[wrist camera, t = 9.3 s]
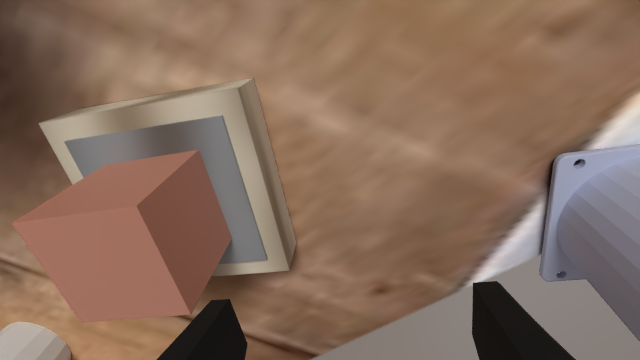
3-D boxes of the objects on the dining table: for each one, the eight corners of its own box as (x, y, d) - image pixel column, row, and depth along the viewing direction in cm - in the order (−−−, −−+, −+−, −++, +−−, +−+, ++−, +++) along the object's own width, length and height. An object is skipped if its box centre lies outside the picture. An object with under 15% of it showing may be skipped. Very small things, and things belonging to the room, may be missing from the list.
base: (253, 77, 17) (236, 89, 14) (296, 242, 21) (288, 273, 18) (77, 109, 18) (34, 124, 16) (150, 256, 22) (126, 285, 20)
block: (198, 149, 16) (136, 205, 11) (232, 237, 18) (190, 314, 13) (104, 164, 16) (11, 222, 12) (147, 247, 19) (81, 322, 14)
